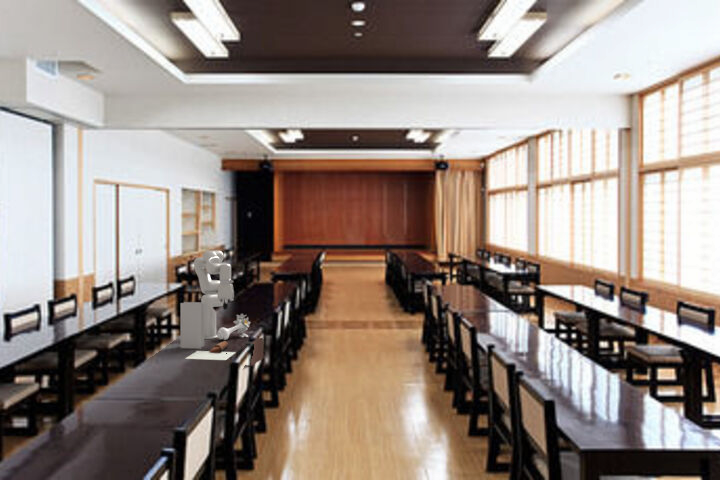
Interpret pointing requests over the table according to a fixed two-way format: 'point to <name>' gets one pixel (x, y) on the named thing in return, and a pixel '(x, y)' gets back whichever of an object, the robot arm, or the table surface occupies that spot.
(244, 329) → the flower vase
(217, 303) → the robot arm
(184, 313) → the tall grey upright box
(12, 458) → the table surface
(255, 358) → the letter holder
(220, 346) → the sunglasses case
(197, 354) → the paper sheet
